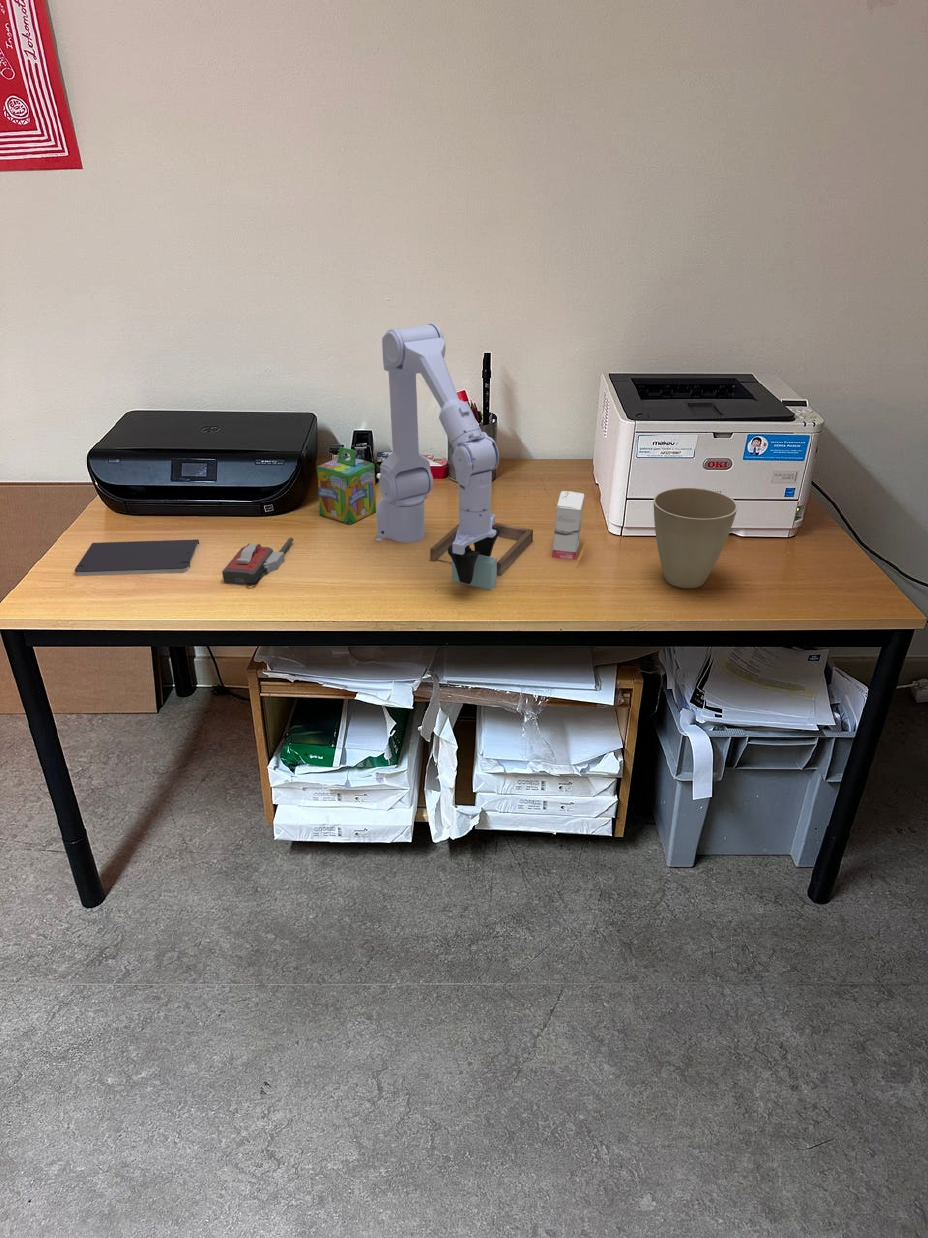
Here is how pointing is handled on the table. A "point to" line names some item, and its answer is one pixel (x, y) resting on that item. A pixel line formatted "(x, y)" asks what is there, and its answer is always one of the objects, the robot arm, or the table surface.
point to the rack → (506, 531)
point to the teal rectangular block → (481, 572)
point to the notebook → (137, 557)
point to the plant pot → (691, 532)
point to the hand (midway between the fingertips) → (474, 573)
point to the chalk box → (346, 488)
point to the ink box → (568, 525)
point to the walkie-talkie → (253, 564)
